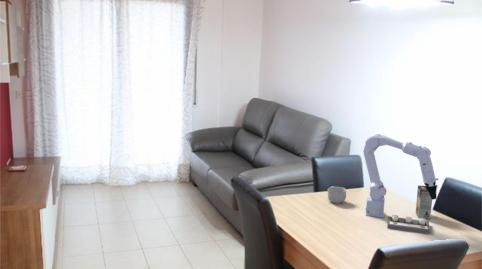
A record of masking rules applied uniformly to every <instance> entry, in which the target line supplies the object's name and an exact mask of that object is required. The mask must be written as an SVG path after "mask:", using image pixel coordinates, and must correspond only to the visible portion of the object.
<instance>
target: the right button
mask: <svg viewBox="0 0 482 269" xmlns="http://www.w3.org/2000/svg"><path fill="white" fill-rule="evenodd" d="M418 220H419V224H420V225H425V221H427V219H423V218H418Z"/></svg>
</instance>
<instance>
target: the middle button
mask: <svg viewBox="0 0 482 269" xmlns="http://www.w3.org/2000/svg"><path fill="white" fill-rule="evenodd" d="M412 219H413V218H412V217H411V216H405V222H406V223H411V222H412Z"/></svg>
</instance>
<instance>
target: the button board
mask: <svg viewBox="0 0 482 269" xmlns="http://www.w3.org/2000/svg"><path fill="white" fill-rule="evenodd" d="M405 219H406V217H405V218H404V217H398V221H397V222H395V221H392V216H387V229H390V230H399V231H404V232H405V231H406V232H412V233H421V234H426V235H427V234H428V235H430V234H431V225H430V222H429V220H428V221H427V220H426V221H425V225H420V224H419V219H413V218H412V222H411V223H406V222H405Z"/></svg>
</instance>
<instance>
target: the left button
mask: <svg viewBox="0 0 482 269" xmlns="http://www.w3.org/2000/svg"><path fill="white" fill-rule="evenodd" d="M391 217H392V221H395V222H397V221H398V218H399V215H397V214H392V216H391Z"/></svg>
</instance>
